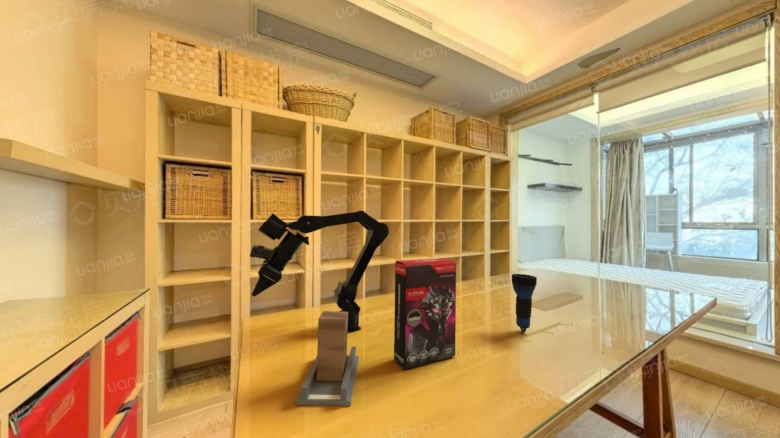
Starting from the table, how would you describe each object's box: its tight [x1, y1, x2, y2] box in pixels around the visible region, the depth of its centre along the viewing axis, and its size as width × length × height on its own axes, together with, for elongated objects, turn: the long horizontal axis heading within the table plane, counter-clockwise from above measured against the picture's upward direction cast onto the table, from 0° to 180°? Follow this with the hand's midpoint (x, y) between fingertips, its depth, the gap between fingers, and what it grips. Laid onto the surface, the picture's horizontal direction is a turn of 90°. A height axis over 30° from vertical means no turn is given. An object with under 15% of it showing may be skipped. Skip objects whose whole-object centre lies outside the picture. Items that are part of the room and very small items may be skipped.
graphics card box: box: [393, 257, 457, 370], centre depth 74 cm, size 17×7×27 cm, turn 117°
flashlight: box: [511, 273, 538, 334], centre depth 94 cm, size 8×8×20 cm
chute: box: [295, 345, 360, 407], centre depth 63 cm, size 18×11×4 cm, turn 1°
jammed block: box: [316, 310, 348, 381], centre depth 62 cm, size 5×6×14 cm
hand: (254, 291), depth 81 cm, fingers open, 9 cm apart
